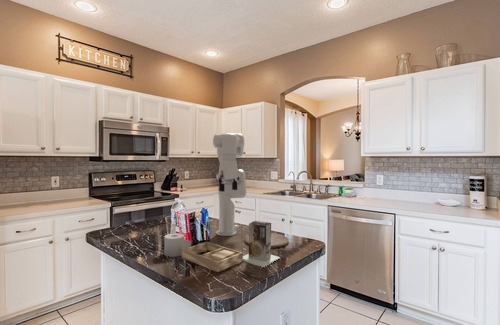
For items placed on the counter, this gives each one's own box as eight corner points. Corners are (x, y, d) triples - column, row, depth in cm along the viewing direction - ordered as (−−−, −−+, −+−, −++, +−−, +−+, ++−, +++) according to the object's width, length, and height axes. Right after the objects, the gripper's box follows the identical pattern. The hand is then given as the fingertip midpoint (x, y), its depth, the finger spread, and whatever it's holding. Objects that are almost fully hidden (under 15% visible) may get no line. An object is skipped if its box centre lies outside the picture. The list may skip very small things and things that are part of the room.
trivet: (295, 240, 158) (295, 237, 158) (275, 252, 138) (275, 248, 138) (259, 233, 172) (259, 230, 172) (235, 243, 151) (235, 239, 151)
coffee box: (271, 256, 128) (271, 222, 127) (265, 261, 122) (266, 225, 122) (253, 253, 132) (254, 220, 131) (247, 257, 126) (248, 223, 126)
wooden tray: (207, 249, 139) (207, 241, 139) (242, 261, 124) (242, 252, 124) (181, 257, 127) (182, 249, 127) (217, 272, 112) (217, 262, 112)
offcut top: (224, 254, 126) (224, 249, 126) (235, 257, 123) (235, 252, 123) (210, 260, 119) (211, 254, 119) (222, 264, 115) (222, 258, 115)
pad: (256, 252, 136) (256, 250, 136) (280, 259, 127) (280, 257, 127) (239, 259, 126) (239, 257, 126) (263, 267, 117) (263, 265, 117)
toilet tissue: (194, 253, 133) (194, 236, 133) (166, 258, 126) (166, 239, 126) (188, 248, 141) (188, 231, 141) (162, 252, 134) (162, 234, 134)
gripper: (234, 157, 150) (234, 188, 150) (211, 157, 136) (211, 191, 136) (245, 158, 145) (244, 189, 145) (222, 157, 131) (221, 192, 132)
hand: (228, 190), depth 141 cm, fingers open, 9 cm apart
